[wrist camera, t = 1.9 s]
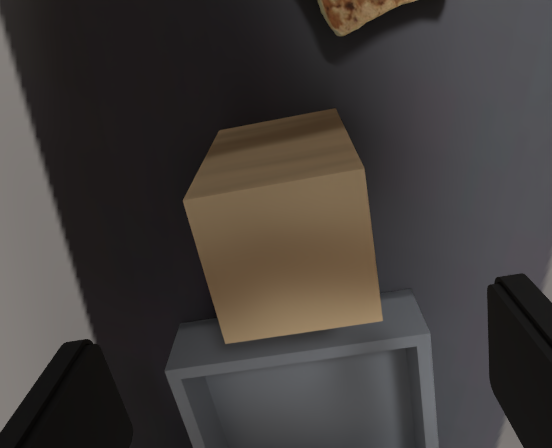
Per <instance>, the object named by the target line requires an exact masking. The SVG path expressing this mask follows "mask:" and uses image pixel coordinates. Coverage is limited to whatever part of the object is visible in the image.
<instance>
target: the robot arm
mask: <svg viewBox="0 0 552 448" xmlns="http://www.w3.org/2000/svg"><path fill="white" fill-rule="evenodd" d="M487 300H488V340H489V377H490V384H491V387H492V390H493V393H494V395H495V397H496V398H497V400H498V402H499V404H500V406H501V407H502V409H503V411H504V413H505V415H506V416H507V418H508V420H509V422H510V424H511V425H512V427H513V429H514V431H515V433H516V435H517V436H518V438H519V440H520V442H521V444H522V445H523V447H524V448H552V303H551V302H550V301H549V299H548V298H547V297H546V296H545V295H544V294H543V293H542V292H541V291H540V290H539V289H538V288H537V287H536V285H535V284H534V283H533V282H532V281H531V280H530V279H529V278H528V277H527V276H526V275H525V274H515V275H508V276H502V277H497V278H496V279H495V284H492V285H489V286H488V288H487ZM132 436H133V429H132V424H131V421H130V419H129V417H128V414H127V412H126V409H125V407H124V404H123V402H122V399H121V397H120V395H119V392H118V390H117V387H116V385H115V382H114V380H113V377H112V375H111V373H110V370H109V368H108V365H107V363H106V360H105V358H104V355H103V353H102V351H101V348H100V347H99V345H98V344H93V342H92V341H91V340H88V339H85V340H78V341H72V342H66V343H64V344H63V345H62V346H61V347H60V349H59V350H58V351H57V353H56V354H55V356H54V357H53V359H52V360H51V361H50V363H49V364H48V365H47V367H46V368H45V370H44V371H43V373H42V374H41V375H40V377H39V378H38V380H37V381H36V383H35V384H34V386H33V387H32V388H31V390H30V391H29V393H28V394H27V395H26V397H25V398H24V400H23V401H22V403H21V404H20V405H19V407H18V408H17V410H16V411H15V413H14V414H13V416H12V417H11V418H10V420H9V421H8V423H7V424H6V425H5V427H4V428H3V430H2V431H1V432H0V448H129V446H130V444H131V441H132Z"/></svg>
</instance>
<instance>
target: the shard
mask: <svg viewBox="0 0 552 448" xmlns="http://www.w3.org/2000/svg"><path fill="white" fill-rule="evenodd" d="M317 1H318V4H319V7H320V10H321V14H323V15H324V18H325V20H326V21H327V23H328V25H329V26H330V28H331V29H332V30H333V31H334V33H335V34H336V35H337V36H345V35H347V34H349V33H351V32H352V31H354V30H357V29H359V28H360V27H361V26H363V25H364V24H365V23H366V22H369V21H371V20H373V19H375V18H376V17H378V16H380V15H383V14H384V13H386V12H388V11H389V10H392V9H394V8H396V7H398V6H400V5H403V4H407V3H410V2H413V1H417V0H317Z"/></svg>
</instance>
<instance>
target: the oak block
mask: <svg viewBox="0 0 552 448" xmlns="http://www.w3.org/2000/svg"><path fill="white" fill-rule="evenodd" d="M183 203H184V207H185V210H186V214H187V217H188V220H189V224H190V227H191V230H192V234H193V237H194V240H195V244H196V247H197V251H198V254H199V257H200V261H201V264H202V267H203V271H204V274H205V277H206V281H207V284H208V288H209V291H210V294H211V298H212V301H213V304H214V308H215V311H216V314H217V318H218V321H219V325H220V328H221V331H222V335H223V338H224V341H225V344H229V343H236V342H243V341H250V340H257V339H263V338H270V337H277V336H284V335H291V334H298V333H304V332H311V331H318V330H325V329H332V328H339V327H346V326H352V325H359V324H366V323H373V322H380V321H383V316H382V308H381V300H380V292H379V284H378V275H377V267H376V259H375V251H374V243H373V234H372V226H371V218H370V210H369V202H368V193H367V185H366V177H365V169H364V166H363V164H362V162H361V160H360V158H359V156H358V154H357V152H356V150H355V148H354V146H353V144H352V141H351V139H350V137H349V135H348V133H347V131H346V129H345V127H344V125H343V123H342V121H341V119H340V117H339V114H338V112H337V110H336V108H334V109H328V110H323V111H318V112H313V113H307V114H302V115H297V116H292V117H286V118H281V119H276V120H271V121H265V122H260V123H255V124H250V125H244V126H239V127H234V128H229V129H223V130H219V132H218V134H217V135H216V137H215V139H214V141H213V143H212V145H211V147H210V149H209V151H208V153H207V155H206V157H205V159H204V160H203V162H202V164H201V166H200V168H199V170H198V172H197V174H196V176H195V178H194V180H193V182H192V184H191V185H190V187H189V189H188V191H187V193H186V195H185V197H184V199H183Z"/></svg>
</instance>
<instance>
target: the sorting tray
mask: <svg viewBox="0 0 552 448" xmlns="http://www.w3.org/2000/svg"><path fill="white" fill-rule="evenodd" d="M380 300H381V308H382V316H383V321H380V322H373V323H366V324H359V325H352V326H346V327H339V328H332V329H325V330H318V331H311V332H304V333H298V334H291V335H284V336H277V337H270V338H263V339H257V340H250V341H243V342H236V343H229V344H225V341H224V338H223V335H222V331H221V328H220V325H219V321H218V318H213V319H206V320H199V321H193V322H186V323H180V325H179V328H178V331H177V334H176V337H175V340H174V343H173V346H172V349H171V352H170V355H169V358H168V361H167V364H166V368H165V374H166V377H167V379H168V382H169V385H170V387H171V390H172V393H173V395H174V398H175V401H176V403H177V406H178V409H179V411H180V414H181V417H182V419H183V422H184V425H185V427H186V430H187V433H188V435H189V438H190V441H191V443H192V446H193V448H439V447H438V433H437V419H436V405H435V391H434V377H433V364H432V350H431V336H430V331H429V329H428V327H427V325H426V322H425V320H424V318H423V315H422V313H421V311H420V309H419V306H418V304H417V302H416V300H415V297H414V295H413V293H412V290H411V289H404V290H398V291H391V292H384V293H380Z"/></svg>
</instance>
